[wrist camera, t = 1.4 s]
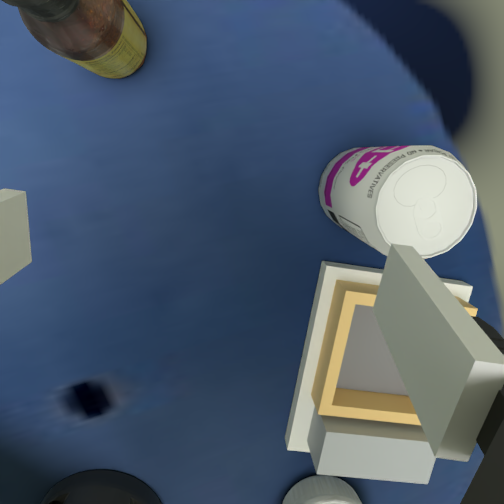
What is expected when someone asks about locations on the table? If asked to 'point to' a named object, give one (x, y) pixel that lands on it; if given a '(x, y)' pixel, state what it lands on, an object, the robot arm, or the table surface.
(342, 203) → the supplement can
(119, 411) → the table surface
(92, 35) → the sauce bottle
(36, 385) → the table surface
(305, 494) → the ramekin
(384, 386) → the tan-rimmed shallow tray
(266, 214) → the table surface
